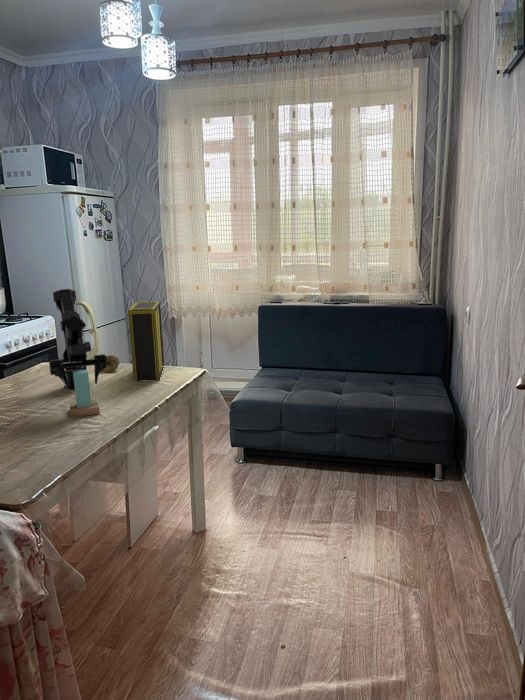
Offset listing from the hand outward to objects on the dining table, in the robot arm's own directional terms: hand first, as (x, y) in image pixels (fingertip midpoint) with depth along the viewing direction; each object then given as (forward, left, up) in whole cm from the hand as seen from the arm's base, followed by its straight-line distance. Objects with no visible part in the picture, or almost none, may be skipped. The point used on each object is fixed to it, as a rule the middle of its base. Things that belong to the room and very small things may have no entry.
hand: (82, 385), depth 180 cm
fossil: (+33, -43, -10) cm, 55 cm away
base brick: (+1, -1, -10) cm, 10 cm away
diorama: (+13, -47, -10) cm, 50 cm away
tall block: (+1, -1, -8) cm, 8 cm away
